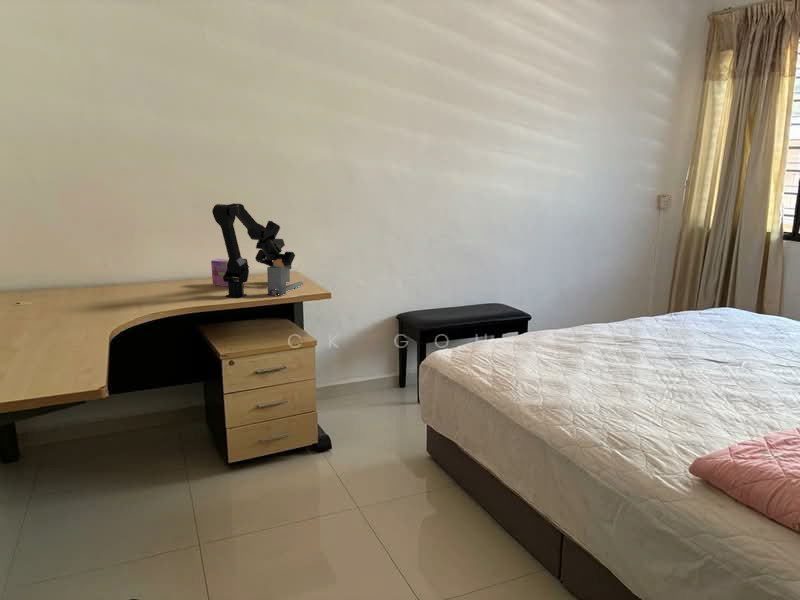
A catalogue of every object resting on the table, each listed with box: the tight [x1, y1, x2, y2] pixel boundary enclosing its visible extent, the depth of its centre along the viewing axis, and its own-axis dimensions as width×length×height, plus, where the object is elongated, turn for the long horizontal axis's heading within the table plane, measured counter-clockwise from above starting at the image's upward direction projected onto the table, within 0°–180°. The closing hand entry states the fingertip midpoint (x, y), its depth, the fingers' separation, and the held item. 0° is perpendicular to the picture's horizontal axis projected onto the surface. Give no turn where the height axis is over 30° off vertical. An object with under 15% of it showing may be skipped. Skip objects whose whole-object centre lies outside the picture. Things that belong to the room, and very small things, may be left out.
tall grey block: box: [266, 266, 287, 296], centre depth 256 cm, size 4×6×12 cm
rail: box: [271, 281, 304, 296], centre depth 266 cm, size 24×2×2 cm, turn 161°
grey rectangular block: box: [272, 259, 291, 282], centre depth 283 cm, size 4×6×12 cm
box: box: [210, 258, 237, 287], centre depth 274 cm, size 10×6×12 cm, turn 73°
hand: (282, 267), depth 283 cm, fingers open, 9 cm apart
